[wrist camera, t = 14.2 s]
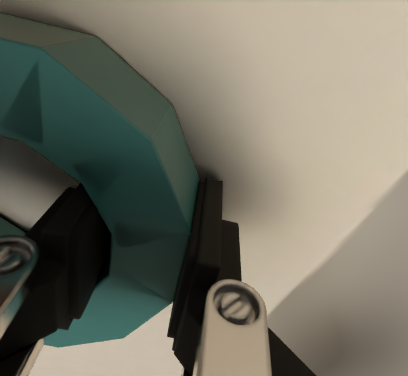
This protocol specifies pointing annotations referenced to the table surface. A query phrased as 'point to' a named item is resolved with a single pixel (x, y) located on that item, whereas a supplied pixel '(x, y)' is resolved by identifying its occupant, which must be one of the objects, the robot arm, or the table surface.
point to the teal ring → (104, 164)
